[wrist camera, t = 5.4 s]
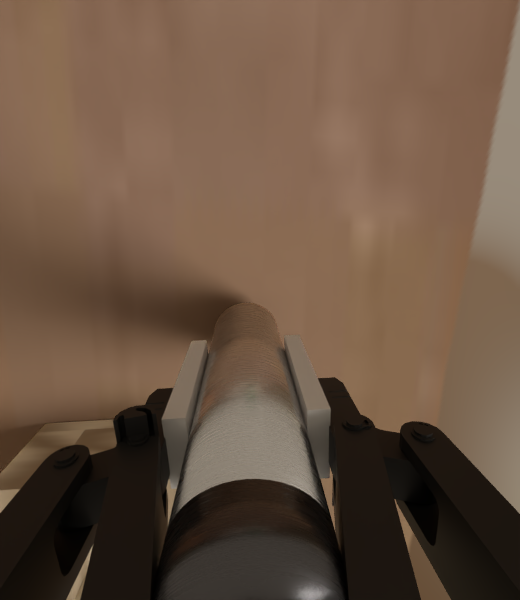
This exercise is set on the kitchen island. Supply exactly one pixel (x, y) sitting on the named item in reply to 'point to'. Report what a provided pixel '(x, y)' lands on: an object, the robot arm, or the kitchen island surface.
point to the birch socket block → (47, 442)
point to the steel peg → (249, 482)
